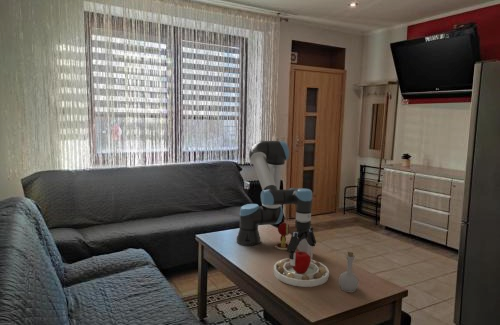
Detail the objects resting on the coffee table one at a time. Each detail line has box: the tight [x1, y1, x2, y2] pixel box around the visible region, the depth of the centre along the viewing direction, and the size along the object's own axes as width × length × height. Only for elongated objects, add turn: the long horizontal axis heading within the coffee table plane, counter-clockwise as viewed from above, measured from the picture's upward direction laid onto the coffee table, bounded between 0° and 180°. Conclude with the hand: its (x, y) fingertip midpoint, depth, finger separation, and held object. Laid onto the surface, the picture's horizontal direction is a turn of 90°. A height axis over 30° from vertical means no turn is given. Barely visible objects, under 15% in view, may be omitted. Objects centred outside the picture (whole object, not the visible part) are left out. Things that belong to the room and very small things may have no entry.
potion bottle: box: [338, 251, 359, 293], centre depth 159 cm, size 9×9×18 cm
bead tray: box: [273, 257, 330, 288], centre depth 174 cm, size 27×27×4 cm
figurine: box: [274, 222, 290, 251], centre depth 210 cm, size 9×10×15 cm
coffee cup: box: [297, 227, 313, 253], centre depth 202 cm, size 10×10×15 cm
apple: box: [292, 250, 312, 273], centre depth 173 cm, size 10×10×11 cm
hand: (301, 261), depth 174 cm, fingers open, 13 cm apart
